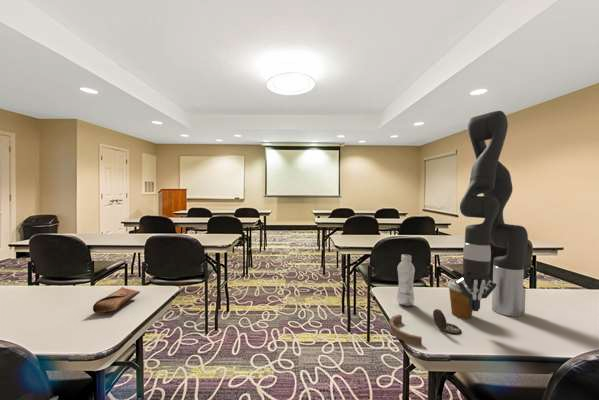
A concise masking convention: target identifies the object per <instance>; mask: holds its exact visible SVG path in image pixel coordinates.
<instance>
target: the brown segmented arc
mask: <svg viewBox="0 0 599 400" xmlns="http://www.w3.org/2000/svg"><path fill="white" fill-rule="evenodd" d="M402 319H403V316H402V314H396V315H394V316H392V317H391V318H390V319H389V322H388V323H389V327H388V328H389V331H390V334H391V335H393V336H394V337H395V338H396V339H398V340H400V341H403V342H405V343H408V344H411V345H416V346H422V343H423V342H422V339H423V338H422V337H423V336H420V335H415V334H410V333H407V332H406V331H403V330H400V329H399V328H398V327H397V325H399V324H401V323H403V322H402V321H403V320H402Z"/></svg>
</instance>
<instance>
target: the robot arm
mask: <svg viewBox="0 0 599 400" xmlns="http://www.w3.org/2000/svg"><path fill="white" fill-rule="evenodd" d="M508 123H509V122H508V118H507V115H506V114H505V112H504V111H503V110H495V111H491V112H488V113H484V114H480V115H477V116H476V115H475V116H472V117H471V118H469V120H468V124H467V128H468V135H469V138H470V142H471V145H472V148H473V152H474V155H475V161H474V163H473V165H472V167H471V172H470V177H469V185H468V188H467V189H466V191H465V194H464V195H463V197H462V198H461V202H460V203H459V211H460V212H461V214H462V216H463V217H467V218H479V219H484V220H483V221H482V222H481V223H477V224H469V225H466V227H465V230H464V231H465V232H464V233H465V234H464V246H463V250H462V251H463V252H462V255H463V256H462V275H461V278H460V279H455V280H456V281H455V284H456V285H457V287H458V288H459V290H460V291H461V292H462V294H463V295H464V296H466V297H468V298H469V308H470V309H471V310H472V312H480V311H479V310H480V308H481V300H482V299H487V298H488V297H489V295H490V294H491V293H492V295H491V296H492V297H491V309H492V311H494V312H496V313H498V314H501V315H504V316H507V317H514V318H515V317H522V316H523V315H525V314H526V313H525V312H526V291H527V290H526V289H525V288H524V274H525V273H524V269H525V264H526V260H527V252H528V251H527V250H528V243H529V235H528V231H527V229H526V227H525V226H522V225H517V224H509V223H505V220H504V209H505V206H506V204H507V203H508V202H509V201H510V198H511V196H512V193H513V183H512V182H513V181H512V176H511V174H510V170H508V168H507V167H506V166H505V165H504V164H503V163H501V161H499V160H500V156H501V152H502V151H503V150H502V149H503V147H504V144H505V140H506V136H507V133H508V126H509V125H508ZM488 140H490V141H489V143H488V145H487V143H486V141H488ZM482 194H483V195H482ZM491 245H493V246H494V247H498V248H502V249H507V252H506V254H505V255H500V256H496V257H494V258H493V262H492V261H491V259H492V249H491ZM491 262H492V263H493V266H492V267H493V268H492V280H491V277H490V273H491ZM457 280H459V281H457ZM464 282H465V283H464ZM465 284H466V285H467V289H466V288H465ZM467 290H468V291H467Z"/></svg>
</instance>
